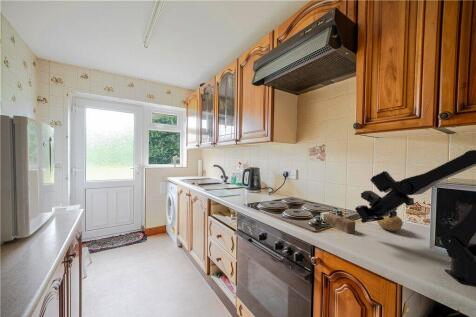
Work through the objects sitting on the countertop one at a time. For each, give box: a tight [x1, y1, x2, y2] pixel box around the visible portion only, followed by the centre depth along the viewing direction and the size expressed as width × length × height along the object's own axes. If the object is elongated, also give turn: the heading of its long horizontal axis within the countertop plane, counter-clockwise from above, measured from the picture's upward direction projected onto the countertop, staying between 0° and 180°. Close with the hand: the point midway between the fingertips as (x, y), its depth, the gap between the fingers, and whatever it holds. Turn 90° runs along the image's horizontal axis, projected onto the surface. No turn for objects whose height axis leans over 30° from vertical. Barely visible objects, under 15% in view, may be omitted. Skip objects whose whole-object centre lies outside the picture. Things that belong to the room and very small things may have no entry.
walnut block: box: [320, 211, 356, 234], centre depth 100 cm, size 5×5×16 cm
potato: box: [376, 214, 404, 232], centre depth 98 cm, size 10×14×8 cm
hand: (362, 221), depth 88 cm, fingers closed
